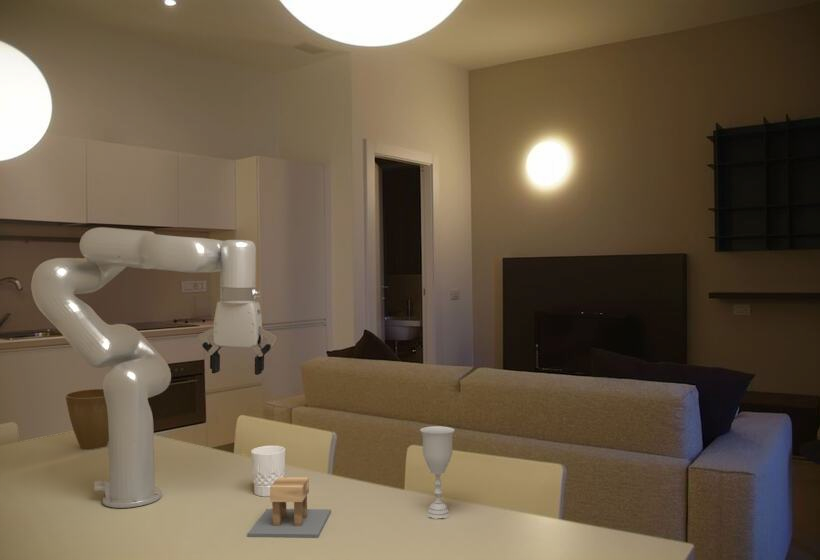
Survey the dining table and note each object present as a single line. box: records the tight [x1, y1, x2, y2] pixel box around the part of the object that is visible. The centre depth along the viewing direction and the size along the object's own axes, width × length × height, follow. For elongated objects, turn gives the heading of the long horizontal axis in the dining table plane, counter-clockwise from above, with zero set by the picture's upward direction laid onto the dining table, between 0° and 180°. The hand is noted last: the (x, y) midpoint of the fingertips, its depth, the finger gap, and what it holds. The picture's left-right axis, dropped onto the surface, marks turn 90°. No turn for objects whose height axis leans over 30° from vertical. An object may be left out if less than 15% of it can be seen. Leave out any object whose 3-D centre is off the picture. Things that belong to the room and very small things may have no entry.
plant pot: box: [65, 388, 109, 450], centre depth 209 cm, size 15×15×16 cm
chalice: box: [420, 425, 455, 518], centre depth 147 cm, size 7×7×18 cm
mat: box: [246, 508, 332, 538], centre depth 143 cm, size 14×14×1 cm
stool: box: [269, 476, 310, 526], centre depth 143 cm, size 6×6×8 cm
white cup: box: [250, 445, 286, 497], centre depth 164 cm, size 8×8×10 cm
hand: (236, 373), depth 155 cm, fingers open, 9 cm apart
